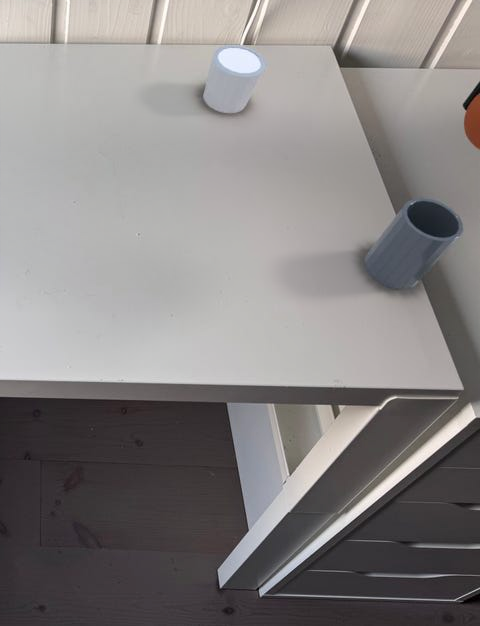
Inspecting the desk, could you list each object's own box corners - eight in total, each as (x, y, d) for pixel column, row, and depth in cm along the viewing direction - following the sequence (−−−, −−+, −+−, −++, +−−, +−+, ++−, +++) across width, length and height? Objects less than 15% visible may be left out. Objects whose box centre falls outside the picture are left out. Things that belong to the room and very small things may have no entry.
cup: (403, 253, 78) (449, 198, 71) (422, 294, 75) (473, 241, 67) (353, 252, 78) (394, 197, 70) (370, 294, 74) (415, 240, 67)
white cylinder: (254, 101, 93) (274, 56, 87) (237, 128, 90) (255, 83, 84) (208, 82, 95) (224, 37, 89) (189, 108, 91) (204, 63, 86)
